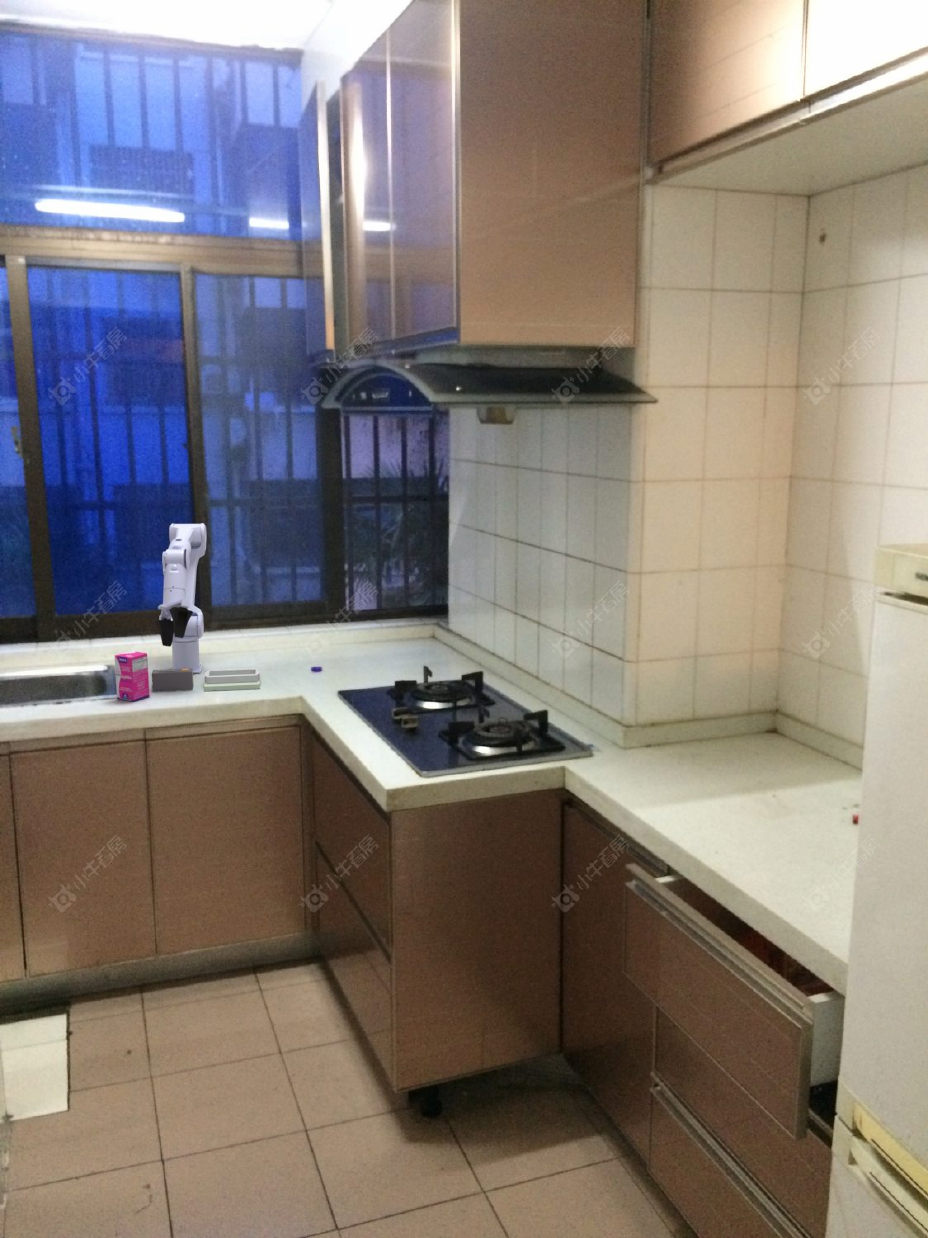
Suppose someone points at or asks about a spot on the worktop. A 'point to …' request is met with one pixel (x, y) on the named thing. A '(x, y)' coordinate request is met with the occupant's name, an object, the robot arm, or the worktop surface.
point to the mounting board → (232, 679)
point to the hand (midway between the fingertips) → (172, 641)
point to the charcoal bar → (172, 680)
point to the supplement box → (132, 676)
